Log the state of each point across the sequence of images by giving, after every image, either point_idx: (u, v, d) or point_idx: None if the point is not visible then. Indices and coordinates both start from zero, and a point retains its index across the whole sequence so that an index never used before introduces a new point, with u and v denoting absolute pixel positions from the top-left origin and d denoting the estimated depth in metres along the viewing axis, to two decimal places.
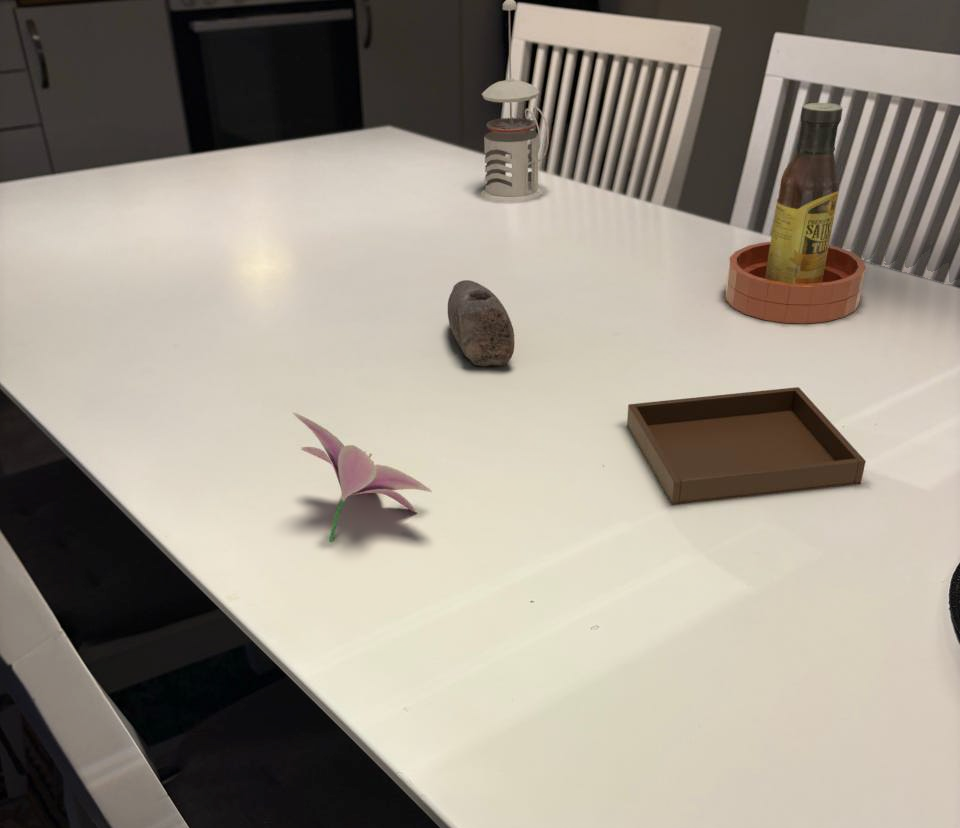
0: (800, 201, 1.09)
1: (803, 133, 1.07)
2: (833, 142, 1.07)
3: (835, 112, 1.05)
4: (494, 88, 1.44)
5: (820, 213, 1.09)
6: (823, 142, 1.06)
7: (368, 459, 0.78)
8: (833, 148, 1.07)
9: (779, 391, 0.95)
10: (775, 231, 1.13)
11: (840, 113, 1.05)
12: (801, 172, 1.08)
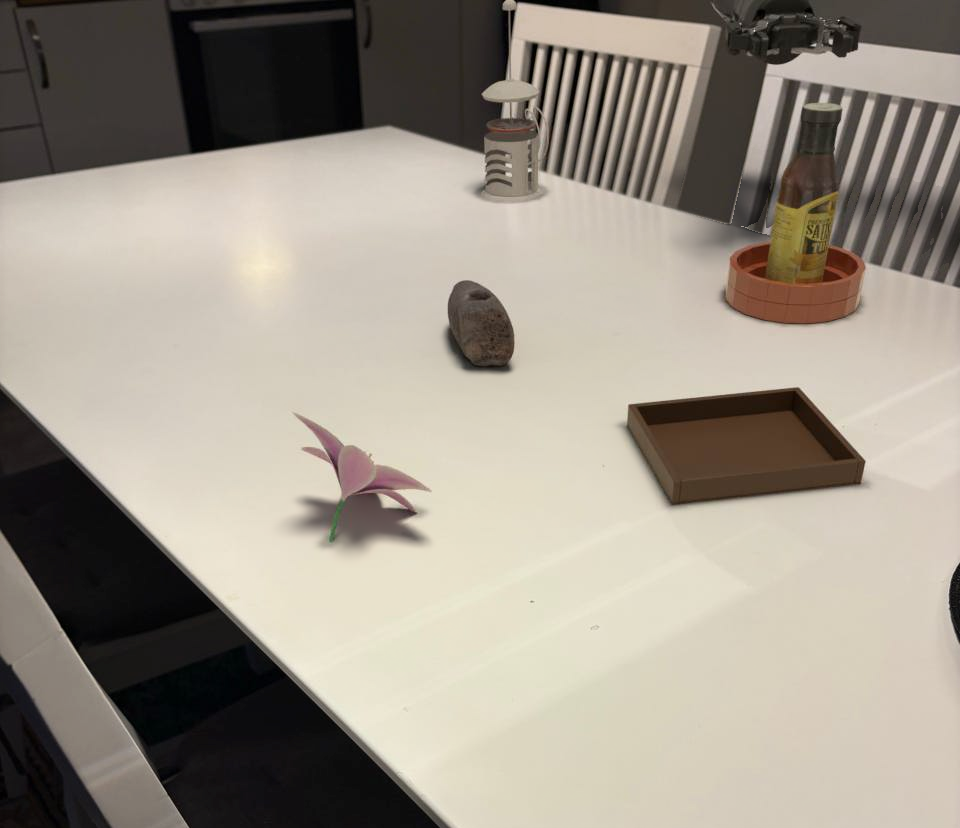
0: (800, 201, 1.09)
1: (803, 133, 1.07)
2: (833, 142, 1.07)
3: (835, 112, 1.05)
4: (494, 88, 1.44)
5: (820, 213, 1.09)
6: (823, 142, 1.06)
7: (368, 459, 0.78)
8: (833, 148, 1.07)
9: (779, 391, 0.95)
10: (775, 231, 1.13)
11: (840, 113, 1.05)
12: (801, 172, 1.08)
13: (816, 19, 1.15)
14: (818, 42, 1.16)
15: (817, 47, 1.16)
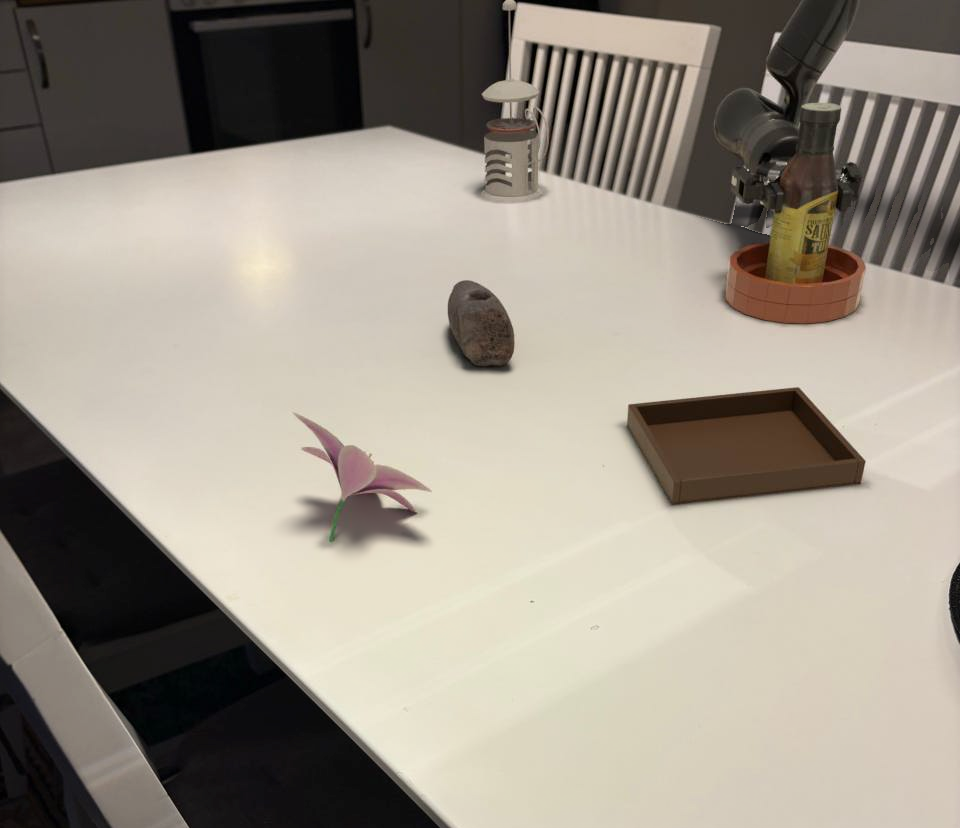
0: (799, 201, 1.09)
1: (802, 133, 1.07)
2: (832, 142, 1.07)
3: (834, 112, 1.05)
4: (494, 88, 1.44)
5: (820, 213, 1.09)
6: (822, 142, 1.06)
7: (368, 459, 0.78)
8: (832, 148, 1.07)
9: (779, 391, 0.95)
10: (774, 231, 1.13)
11: (839, 113, 1.05)
12: (800, 172, 1.08)
13: None
14: None
15: None
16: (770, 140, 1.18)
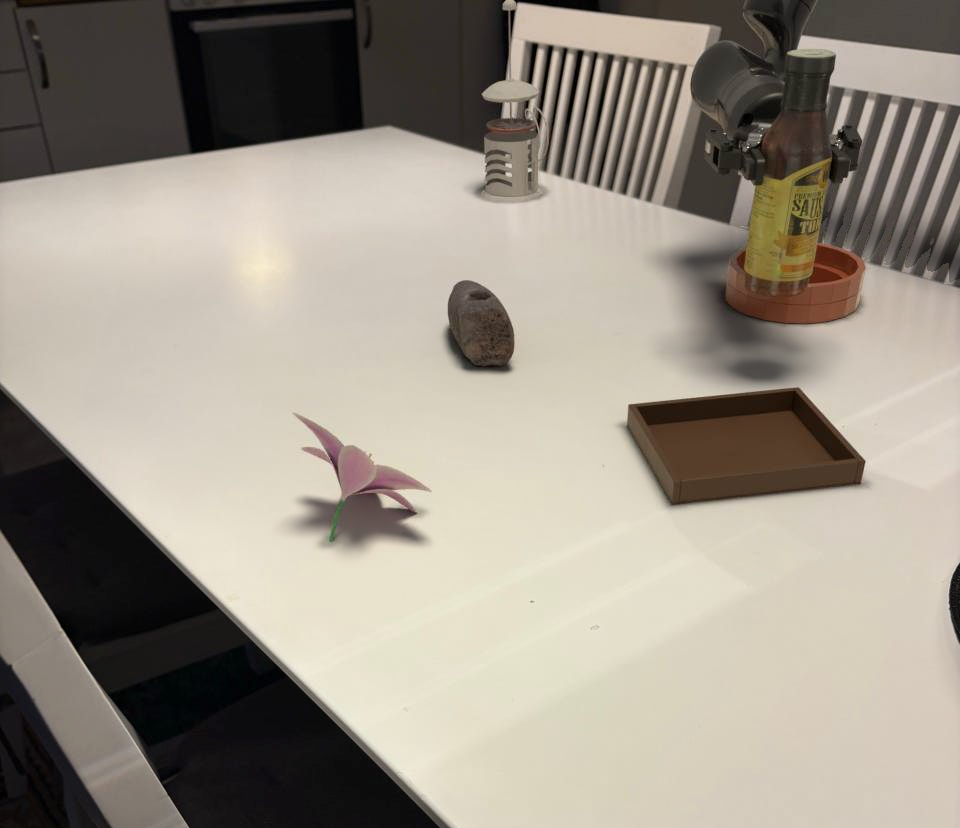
0: (785, 170, 0.90)
1: (788, 86, 0.87)
2: (824, 97, 0.87)
3: (827, 59, 0.85)
4: (494, 88, 1.44)
5: (809, 185, 0.90)
6: (812, 98, 0.87)
7: (368, 459, 0.78)
8: (825, 105, 0.88)
9: (779, 391, 0.95)
10: (755, 207, 0.93)
11: (833, 61, 0.86)
12: (786, 134, 0.88)
13: None
14: None
15: None
16: (752, 98, 0.98)
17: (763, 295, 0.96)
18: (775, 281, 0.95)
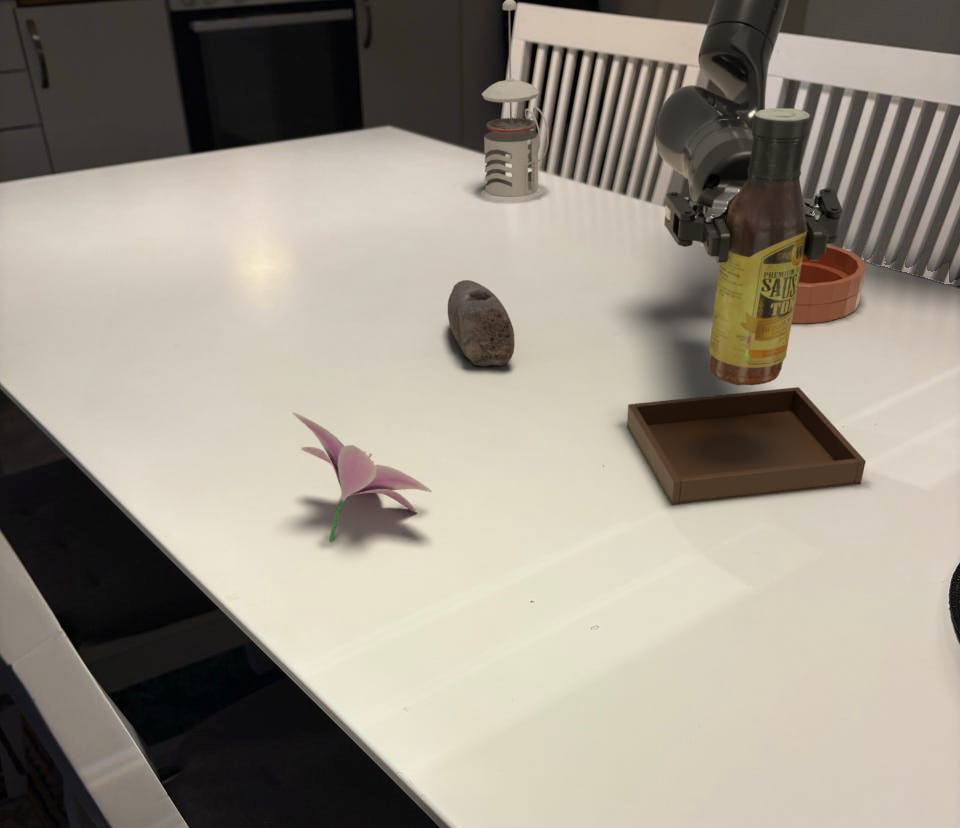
0: (752, 246, 0.78)
1: (755, 151, 0.76)
2: (797, 165, 0.76)
3: (800, 122, 0.74)
4: (494, 88, 1.44)
5: (781, 262, 0.78)
6: (783, 165, 0.75)
7: (368, 459, 0.78)
8: (798, 173, 0.76)
9: (779, 391, 0.95)
10: (720, 285, 0.82)
11: (807, 124, 0.74)
12: (753, 206, 0.77)
13: None
14: None
15: None
16: (719, 156, 0.87)
17: (730, 382, 0.85)
18: (743, 367, 0.84)
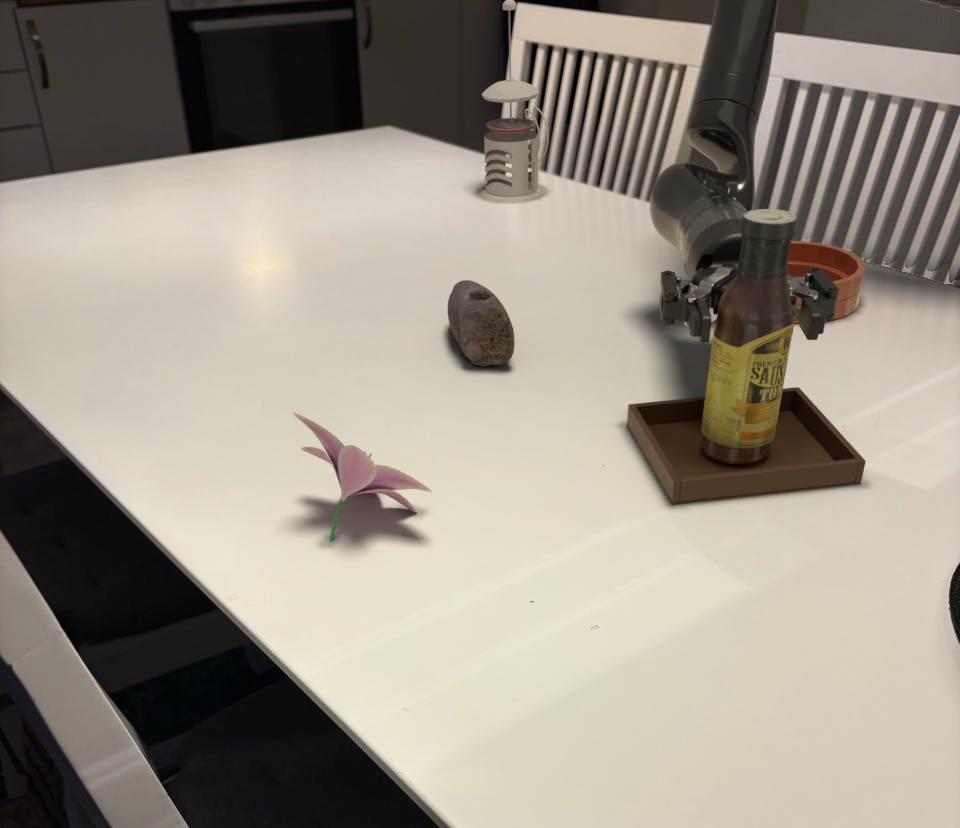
0: (742, 337, 0.82)
1: (744, 250, 0.80)
2: (784, 263, 0.80)
3: (786, 225, 0.78)
4: (494, 88, 1.44)
5: (769, 353, 0.82)
6: (771, 264, 0.79)
7: (368, 459, 0.78)
8: (785, 270, 0.80)
9: None
10: (711, 371, 0.86)
11: (793, 226, 0.78)
12: (742, 300, 0.81)
13: None
14: None
15: None
16: (711, 237, 0.90)
17: (721, 461, 0.89)
18: (733, 448, 0.87)
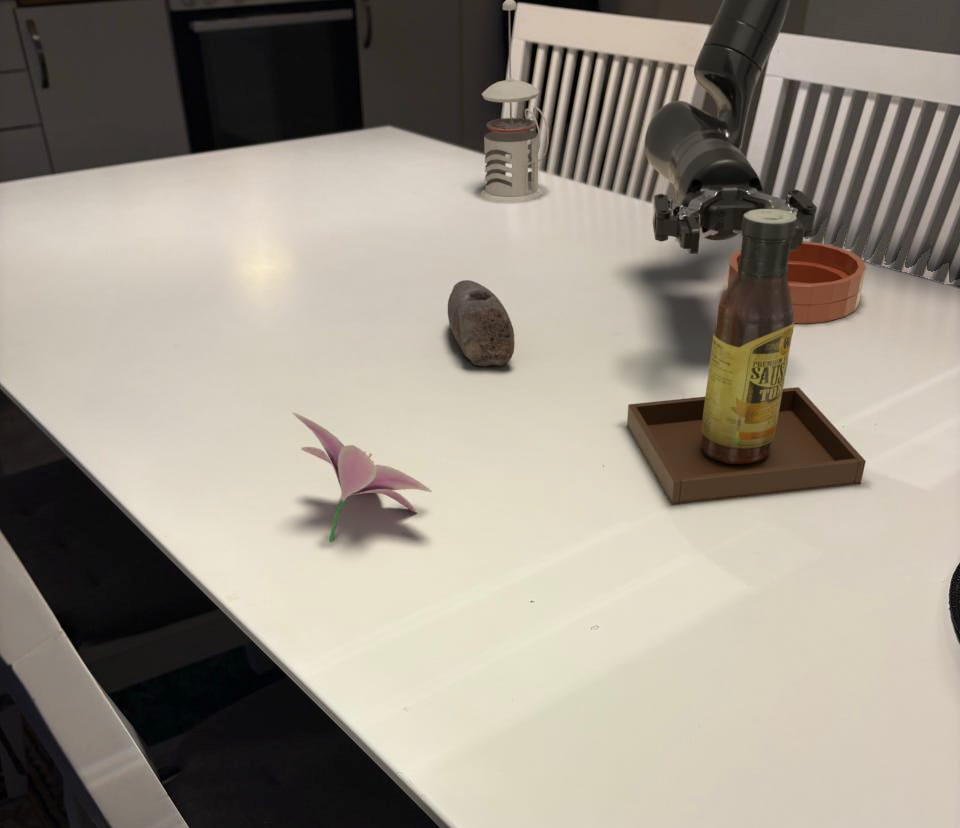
0: (742, 337, 0.82)
1: (744, 250, 0.80)
2: (785, 262, 0.80)
3: (787, 225, 0.78)
4: (494, 88, 1.44)
5: (769, 353, 0.82)
6: (771, 264, 0.79)
7: (368, 459, 0.78)
8: (785, 270, 0.80)
9: None
10: (711, 370, 0.86)
11: (793, 226, 0.78)
12: (743, 300, 0.81)
13: (761, 198, 0.94)
14: None
15: None
16: (700, 164, 0.98)
17: (721, 461, 0.89)
18: (733, 448, 0.87)
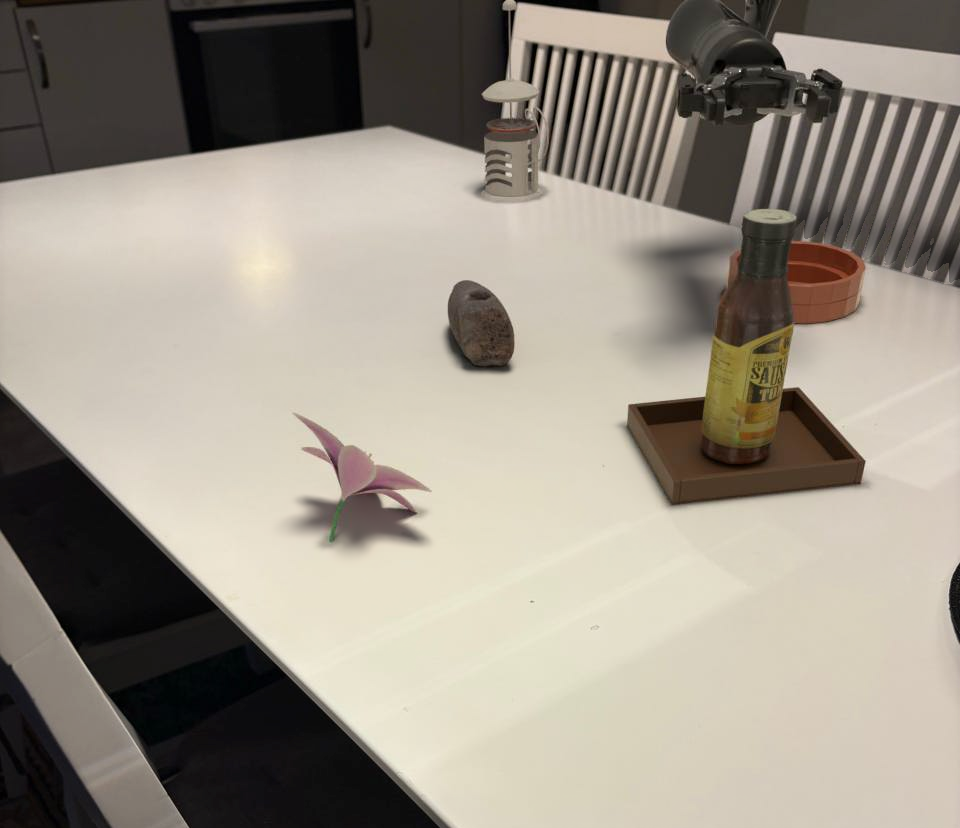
0: (742, 337, 0.82)
1: (744, 250, 0.80)
2: (785, 262, 0.80)
3: (787, 225, 0.78)
4: (494, 88, 1.44)
5: (769, 353, 0.82)
6: (771, 264, 0.79)
7: (368, 459, 0.78)
8: (785, 270, 0.80)
9: None
10: (711, 370, 0.86)
11: (793, 226, 0.78)
12: (743, 300, 0.81)
13: (786, 73, 0.93)
14: (789, 102, 0.94)
15: (788, 108, 0.94)
16: (724, 45, 0.97)
17: (721, 461, 0.89)
18: (733, 448, 0.87)
